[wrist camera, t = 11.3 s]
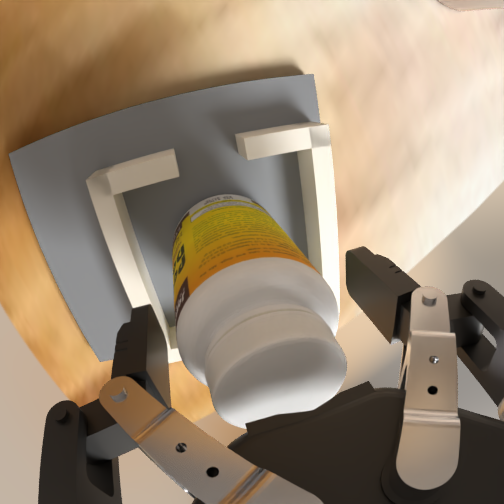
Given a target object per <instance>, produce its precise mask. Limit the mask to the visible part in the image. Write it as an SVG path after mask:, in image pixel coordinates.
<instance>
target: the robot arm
mask: <svg viewBox="0 0 504 504" xmlns="http://www.w3.org/2000/svg"><path fill="white" fill-rule="evenodd" d="M438 1H439V2H440V3H442V4H443V5H445V6H447V7H449V8H451V9H454V10H457V11H472V10H484V9H504V0H438ZM346 286H347V290H348V292H349V294H350V296H351V297H352V298H353V300H354V301H355V302H356V303H357V304H358V306H359V307H360V308H361V309H362V310H363V312H364V313H365V314H366V315H367V316H368V317H369V319H370V320H371V321H372V322H373V324H374V325H375V326H376V327H377V328H378V330H379V331H380V332H381V333H382V334H383V336H384V337H385V338H386V339H387V341H388V342H389V343H390V344H391V345H392V344H394V343H396V342H399V341H402V342H403V348H402V357H401V366H400V373H399V381H398V387H397V388H375V389H374V388H373V387H372V385H371V384H370V382H369V381H367V382H365V383H363V384H360V385H358V386H356V387H353V388H350V389H348V390H345V391H343V392H340V393H339V394H337V395H336V396H335V397H333V398H331V399H330V400H328V401H327V402H325V403H324V404H322V405H320V406H319V407H317V408H316V409H314V410H311V411H304V412H295V413H285V414H276V415H273V416H270V417H266V418H263V419H259V420H256V421H252V422H248V423H245V425H246V428H247V433H245V434H243V435H241V436H240V437H238V438H237V439H235V440H234V441H233V442H231V443H230V444H229V445H228V446H227V447H226V446H224V445H223V444H221V443H220V442H218V441H217V440H215V439H214V438H213V437H211V436H210V435H208V434H207V433H206V432H204V431H203V430H201V429H200V428H199V427H197V426H196V425H195V424H193V423H192V422H191V421H189V420H188V419H187V418H185V417H184V416H183V415H181V414H180V413H179V412H178V411H176V410H175V409H173V408H171V397H170V383H169V367H168V348H167V342H166V338H165V335H164V333H163V330H162V328H161V326H160V323H159V321H158V319H157V316H156V314H155V312H154V309H153V307H152V305H151V304H147V305H143V306H139V307H135V308H132V311H131V319H130V322H127V323H123V325H122V326H121V328H120V329H119V331H118V332H117V337H116V345H115V353H114V359H113V367H112V375H111V380H109V381H108V382H107V383H106V384H105V385H104V386H103V387H102V388H101V390H100V393H99V398H98V399H97V400H95V401H93V402H91V403H88V404H86V405H84V406H82V407H78V406H77V404H76V403H74V402H73V401H69V400H66V401H61V402H59V403H57V404H55V405H54V406H53V407H52V408H51V409H50V410H49V412H48V414H47V417H46V423H45V430H44V437H43V446H42V454H41V466H40V479H39V496H38V504H122V498H121V488H120V476H119V462H118V456H120V455H122V454H125V453H127V452H129V451H131V450H133V449H135V448H140V449H141V451H142V452H144V454H145V455H146V456H147V457H148V458H150V460H152V461H153V462H154V463H155V464H156V465H157V466H158V467H159V468H160V469H161V470H162V471H163V472H164V473H165V474H166V475H168V476H169V477H170V478H171V479H172V480H173V481H174V482H175V483H176V484H177V485H179V486H180V487H181V488H182V489H183V490H185V491H186V492H187V493H188V494H189V495H190V496H191V497H193V498H194V501H193V503H192V504H504V297H503V296H502V295H501V294H499V292H497V291H496V290H495V289H494V288H493V287H492V286H490V285H489V284H488V283H486V282H484V281H480V280H470V281H467V282H466V283H465V284H464V286H463V289H462V293H459V294H453V295H445V293H444V292H443V291H441V290H440V289H438V288H435V287H428V286H425V287H421V286H420V285H418V284H417V283H416V282H415V281H414V280H413V279H412V278H410V277H409V276H408V275H407V274H406V273H405V272H404V271H402V270H401V269H400V268H399V267H398V266H396V265H395V264H394V263H393V262H392V261H391V260H389V259H388V258H386V257H383V256H381V255H378V254H376V255H374V254H373V253H372V252H371V251H370V250H368V249H367V248H366V247H364V246H362V247H359V248H355V249H352V250H349V251H347V252H346ZM484 327H485V328H486V329H487V330H488V331H489V332H490V334H491V335H492V336H493V337H494V338H495V340H496V344H497V348H495V347H494V346H493V345H492V344H491V343H490V342H489V340H488V339H487V338H486V337H485V336H484V335H483V334H482V332H483V329H484ZM457 355H458V357H459V358H460V359H461V361H462V362H463V363H464V364H465V365H466V367H467V368H468V369H469V370H470V372H471V373H472V374H473V375H474V377H475V378H476V379H477V380H478V382H479V383H480V384H481V386H482V387H483V388H484V389H485V391H486V392H487V393H488V394H489V396H490V397H491V399H492V400H493V401H494V403H495V404H496V405H497V407H498V415H499V419H500V420H498V419H494V418H491V417H487V416H484V415H480V414H477V413H474V412H470V411H467V410H464V409H461V408H458V375H457Z"/></svg>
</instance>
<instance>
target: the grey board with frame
mask: <svg viewBox="0 0 504 504" xmlns="http://www.w3.org/2000/svg"><path fill="white" fill-rule="evenodd" d="M9 157H10V161H11V165H12V168H13V171H14V175H15V178H16V181H17V184H18V188H19V191H20V194H21V197H22V200H23V203H24V205H25V208H26V211H27V214H28V217H29V219H30V222H31V225H32V227H33V230H34V232H35V235H36V237H37V240H38V242H39V245H40V247H41V249H42V252H43V254H44V256H45V259H46V261H47V263H48V265H49V268H50V270H51V272H52V274H53V276H54V279H55V281H56V283H57V285H58V287H59V289H60V291H61V293H62V295H63V297H64V299H65V301H66V303H67V305H68V307H69V309H70V311H71V312H72V314H73V316H74V318H75V320H76V322H77V324H78V325H79V327H80V329H81V331H82V333H83V334H84V336H85V338H86V339H87V341H88V343H89V345H90V346H91V348H92V350H93V351H94V353H95V355H96V356H97V358H98V359H99V361H100V362H103V361H108V360H113V359H114V353H115V345H116V337H117V332H118V331H119V329H120V328H121V326H122V325H123V323H127V322H130V319H131V311H132V308H135V307H139V306H143V305H147V304H151V305H152V307H153V309H154V312H155V314H156V316H157V319H158V321H159V323H160V326H161V328H162V330H163V333H164V335H165V338H166V342H167V348H168V363H173V362H177V361H181V360H182V359H181V356H180V354H179V350H178V345H177V338H176V326H175V309H174V289H173V262H172V244H173V237H174V233H175V230H176V228H177V225H178V223H179V222H180V220H181V219H182V217H183V216H184V215H185V214H186V212H187V211H188V210H189V209H191V208H192V207H193V206H194V205H196V204H197V203H199V202H201V201H202V200H205V199H207V198H210V197H213V196H217V195H224V194H233V195H240V196H244V197H247V198H249V199H251V200H253V201H255V202H257V203H258V204H260V205H261V206H262V207H263V208H264V209H265V210H266V211H267V212H268V213H269V214H270V215H271V216H272V218H273V219H274V220H275V221H276V222H277V224H278V225H279V226H280V227H281V228H282V229H283V231H284V232H285V233H286V234H287V235H288V236H289V238H290V239H291V240H292V241H293V242H294V243H295V245H296V246H297V247H298V248H299V249H300V251H301V252H302V253H303V254H304V255H305V257H306V258H307V259H308V260H309V261H310V263H311V264H312V265H313V266H314V267H315V269H316V270H317V271H318V272H319V273H320V275H321V276H322V277H323V278H324V279H325V281H326V282H327V283H328V285H329V286H330V288H331V290H332V291H333V293H334V295H335V298H336V301H337V305H338V311H339V314H340V289H339V252H338V230H337V212H336V197H335V184H334V172H333V160H332V150H331V140H330V131H329V124H324V123H320V116H319V109H318V101H317V94H316V87H315V80H314V74H307V75H296V76H286V77H277V78H269V79H261V80H254V81H247V82H240V83H234V84H228V85H223V86H217V87H212V88H207V89H202V90H197V91H192V92H188V93H183V94H179V95H175V96H170V97H166V98H162V99H158V100H155V101H151V102H147V103H143V104H140V105H136V106H133V107H129V108H126V109H123V110H120V111H116V112H113V113H110V114H107V115H104V116H101V117H98V118H95V119H92V120H89V121H86V122H84V123H81V124H78V125H75V126H73V127H70V128H67V129H65V130H62V131H60V132H57V133H55V134H52V135H50V136H47V137H45V138H43V139H40V140H38V141H36V142H33V143H31V144H29V145H27V146H24V147H22V148H20V149H18V150H16V151H14V152H11V153H9Z"/></svg>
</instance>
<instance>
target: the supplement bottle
mask: <svg viewBox="0 0 504 504" xmlns="http://www.w3.org/2000/svg"><path fill="white" fill-rule="evenodd" d="M172 262H173V289H174V309H175V326H176V338H177V345H178V350H179V354H180V356H181V359H182V361H183V363H184V365H185V366H186V368H187V369H188V370H189V372H190V373H191V374H192V375H193V376H194V377H195V378H196V379H197V380H199V381H200V382H201V383H203V384H205V385H206V386H208V387H209V389H210V394H211V398H212V402H213V406H214V408H215V410H216V412H217V413H218V414H219V415H220V417H222V418H223V419H224V420H225V421H227V422H228V423H230V424H232V425H234V426H237V427H240V428H245V429H247V428H246V425H245V423H248V422H252V421H256V420H259V419H263V418H266V417H270V416H273V415H276V414H285V413H295V412H304V411H311V410H314V409H316V408H317V407H319V406H320V405H322V404H324V403H325V402H327V401H328V400H330V399H331V398H333V396H334V395H335V394H336V393H337V391H338V390H339V389H340V387H341V385H342V383H343V381H344V378H345V376H346V371H347V361H346V356H345V354H344V352H343V350H342V348H341V347H340V345H339V344H338V342H337V341H336V339H335V336H336V332H337V328H338V321H339V311H338V305H337V301H336V298H335V295H334V293H333V291H332V290H331V288H330V286H329V285H328V283H327V282H326V281H325V279H324V278H323V277H322V276H321V275H320V273H319V272H318V271H317V270H316V269H315V267H314V266H313V265H312V264H311V263H310V261H309V260H308V259H307V258H306V257H305V255H304V254H303V253H302V252H301V251H300V249H299V248H298V247H297V246H296V245H295V243H294V242H293V241H292V240H291V239H290V238H289V236H288V235H287V234H286V233H285V232H284V231H283V229H282V228H281V227H280V226H279V225H278V224H277V222H276V221H275V220H274V219H273V218H272V216H271V215H270V214H269V213H268V212H267V211H266V210H265V209H264V208H263V207H262V206H261V205H260V204H258V203H257V202H255V201H253V200H251V199H249V198H247V197H244V196H240V195H233V194H224V195H217V196H213V197H210V198H207V199H205V200H202V201H201V202H199V203H197V204H196V205H194V206H193V207H192V208H191V209H189V210H188V211H187V212H186V214H185V215H184V216H183V217H182V219H181V220H180V222H179V223H178V225H177V228H176V230H175V233H174V237H173V244H172Z"/></svg>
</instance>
